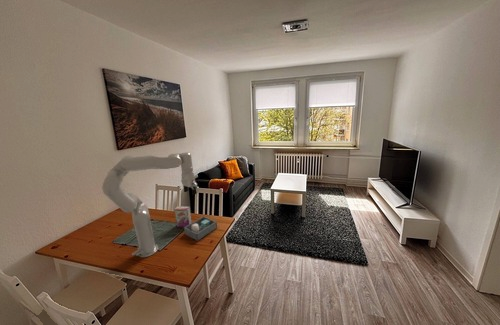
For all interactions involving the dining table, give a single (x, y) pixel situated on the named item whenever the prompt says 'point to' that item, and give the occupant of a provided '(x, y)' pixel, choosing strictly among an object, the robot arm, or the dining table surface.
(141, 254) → the robot arm
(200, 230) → the tote
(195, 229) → the white cylinder
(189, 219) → the candy bar box
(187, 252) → the dining table surface
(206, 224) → the teal cube
